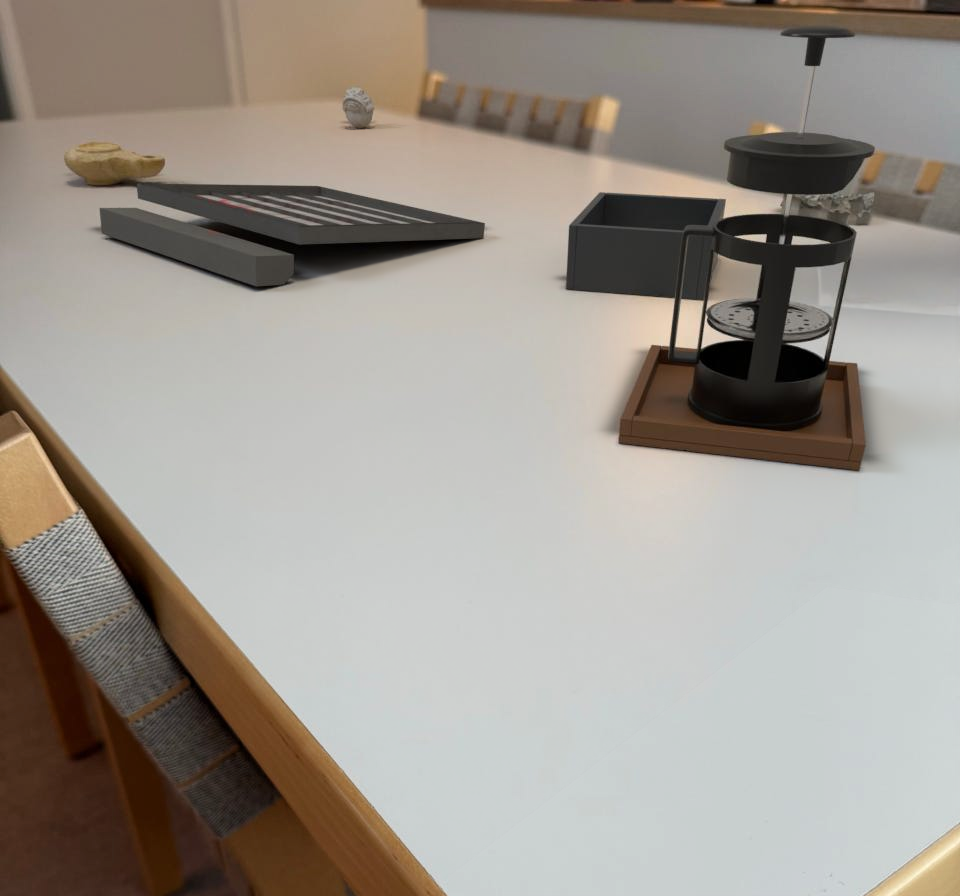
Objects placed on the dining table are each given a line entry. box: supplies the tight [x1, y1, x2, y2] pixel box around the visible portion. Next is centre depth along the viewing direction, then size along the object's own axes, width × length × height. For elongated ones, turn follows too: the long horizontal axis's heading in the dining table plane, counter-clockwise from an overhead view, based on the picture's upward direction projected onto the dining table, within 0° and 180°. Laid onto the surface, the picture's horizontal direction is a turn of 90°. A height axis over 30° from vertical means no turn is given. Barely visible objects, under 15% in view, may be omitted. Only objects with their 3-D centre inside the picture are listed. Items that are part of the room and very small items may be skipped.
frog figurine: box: [341, 86, 375, 129], centre depth 184 cm, size 6×7×7 cm
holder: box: [565, 191, 727, 301], centre depth 98 cm, size 14×17×6 cm
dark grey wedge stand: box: [99, 182, 486, 287], centre depth 112 cm, size 32×7×31 cm
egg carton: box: [779, 191, 875, 226], centre depth 117 cm, size 11×8×4 cm
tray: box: [617, 344, 867, 471], centre depth 69 cm, size 16×16×2 cm
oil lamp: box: [63, 141, 166, 186], centre depth 139 cm, size 11×14×5 cm
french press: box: [668, 25, 876, 431], centre depth 62 cm, size 12×9×23 cm
